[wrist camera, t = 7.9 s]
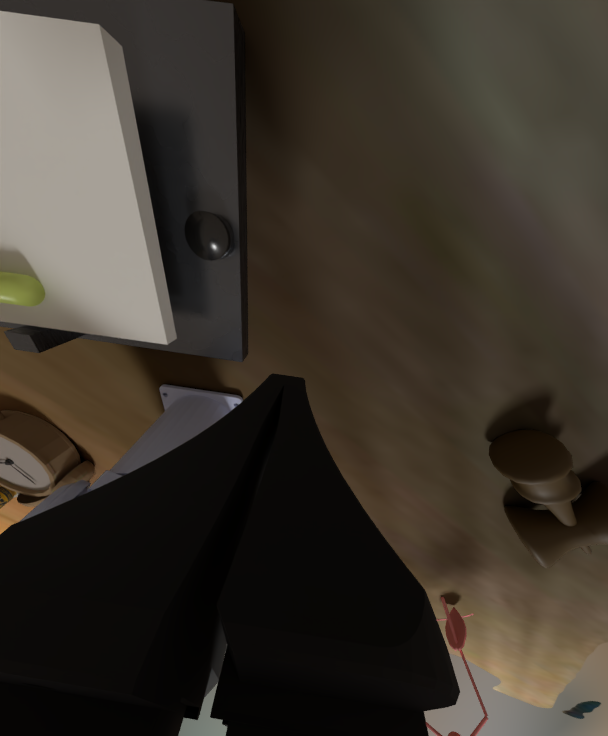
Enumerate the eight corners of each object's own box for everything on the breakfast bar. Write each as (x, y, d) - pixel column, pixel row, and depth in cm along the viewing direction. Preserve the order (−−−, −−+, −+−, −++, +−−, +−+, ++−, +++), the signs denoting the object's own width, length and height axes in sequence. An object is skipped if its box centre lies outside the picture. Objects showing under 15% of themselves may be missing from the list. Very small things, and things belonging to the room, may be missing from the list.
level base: (244, 32, 10) (176, -139, 6) (248, 353, 19) (222, 391, 14) (-263, -31, 11) (-726, -244, 6) (-34, 312, 19) (-150, 335, 15)
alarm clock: (-18, 411, 22) (83, 518, 26) (44, 389, 26) (122, 483, 30) (-67, 438, 25) (30, 530, 29) (-4, 415, 30) (72, 496, 33)
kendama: (561, 401, 20) (616, 513, 26) (450, 444, 24) (520, 532, 30) (641, 459, 14) (687, 582, 20) (482, 501, 18) (559, 593, 24)
